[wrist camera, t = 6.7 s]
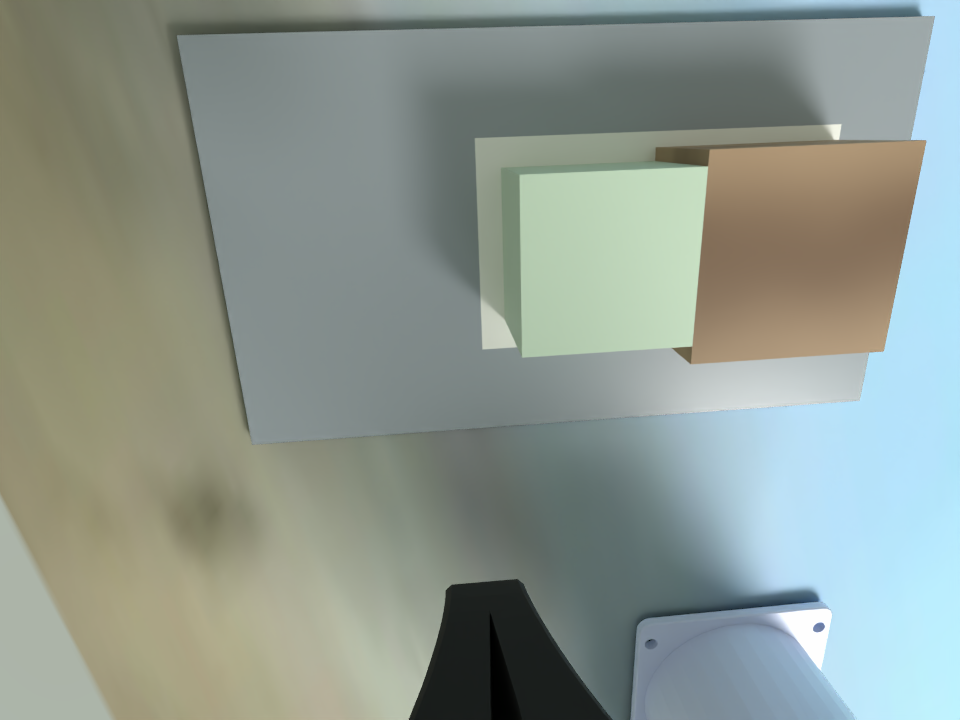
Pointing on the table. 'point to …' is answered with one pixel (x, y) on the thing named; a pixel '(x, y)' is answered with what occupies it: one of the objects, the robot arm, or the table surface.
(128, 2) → the table surface
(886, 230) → the walnut block
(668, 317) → the green block
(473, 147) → the plate
